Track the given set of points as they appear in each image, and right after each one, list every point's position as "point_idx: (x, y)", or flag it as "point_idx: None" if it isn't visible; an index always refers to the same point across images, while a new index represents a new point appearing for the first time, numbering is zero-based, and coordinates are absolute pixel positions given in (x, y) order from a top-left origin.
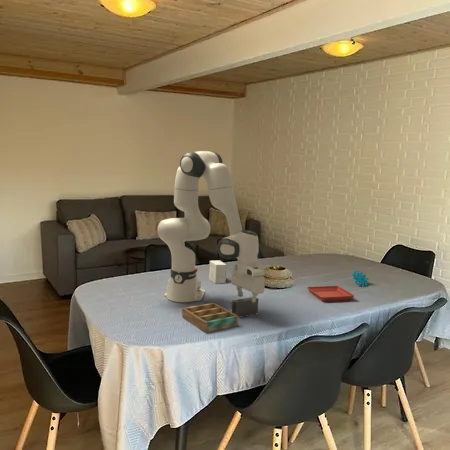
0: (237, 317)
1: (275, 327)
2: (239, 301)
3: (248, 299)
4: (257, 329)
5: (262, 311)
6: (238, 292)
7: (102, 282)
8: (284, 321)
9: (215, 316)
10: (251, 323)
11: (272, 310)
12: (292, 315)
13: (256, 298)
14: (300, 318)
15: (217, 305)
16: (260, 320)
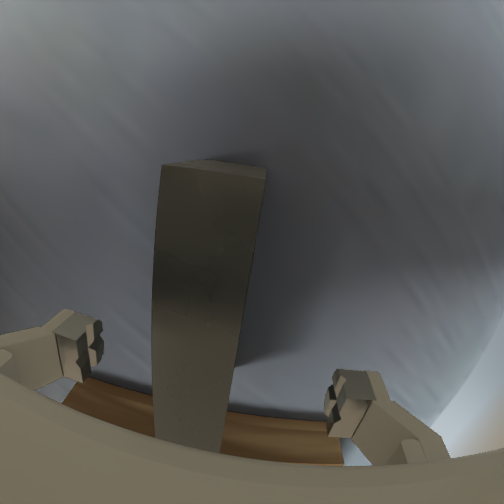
0: (340, 463)
1: (500, 280)
2: (212, 427)
3: (209, 321)
4: (440, 377)
5: (253, 93)
6: (58, 372)
7: None
8: (493, 148)
9: None
10: (373, 354)
11: (287, 11)
12: (447, 7)
13: (241, 200)
14: (501, 30)
15: None
16: (385, 270)
